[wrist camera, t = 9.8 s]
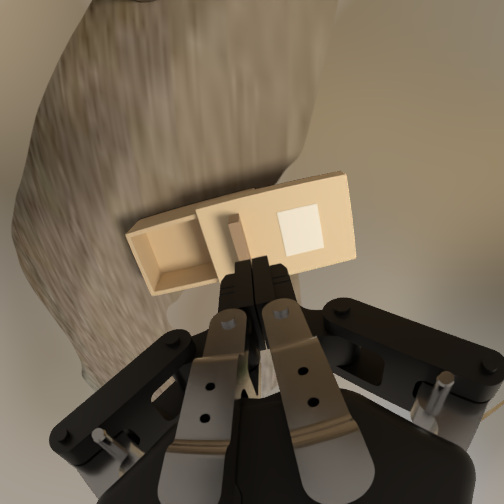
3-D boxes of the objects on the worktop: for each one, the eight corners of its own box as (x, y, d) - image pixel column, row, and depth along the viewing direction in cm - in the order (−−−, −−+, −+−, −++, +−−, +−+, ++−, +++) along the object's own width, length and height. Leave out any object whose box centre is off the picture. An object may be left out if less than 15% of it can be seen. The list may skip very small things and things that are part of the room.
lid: (198, 204, 36) (191, 217, 31) (340, 170, 35) (355, 179, 30) (223, 281, 41) (221, 302, 36) (350, 250, 40) (364, 268, 35)
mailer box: (139, 219, 42) (125, 234, 36) (254, 187, 40) (256, 198, 35) (161, 275, 46) (152, 296, 40) (270, 250, 45) (273, 269, 39)
